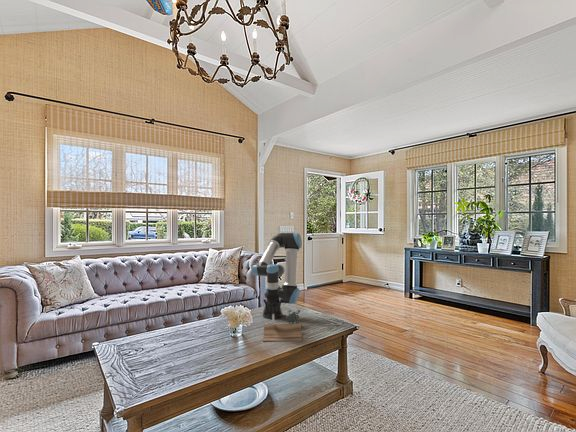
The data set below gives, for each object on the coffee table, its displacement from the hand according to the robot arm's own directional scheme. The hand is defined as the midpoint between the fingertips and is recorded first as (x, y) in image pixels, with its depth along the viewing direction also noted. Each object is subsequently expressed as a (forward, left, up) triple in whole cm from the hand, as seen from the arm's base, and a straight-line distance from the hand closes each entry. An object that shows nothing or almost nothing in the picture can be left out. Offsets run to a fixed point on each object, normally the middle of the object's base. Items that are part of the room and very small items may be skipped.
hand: (273, 324), depth 204 cm
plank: (+1, +6, -4) cm, 7 cm away
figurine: (-13, +14, -6) cm, 20 cm away
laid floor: (+10, +6, -6) cm, 13 cm away
